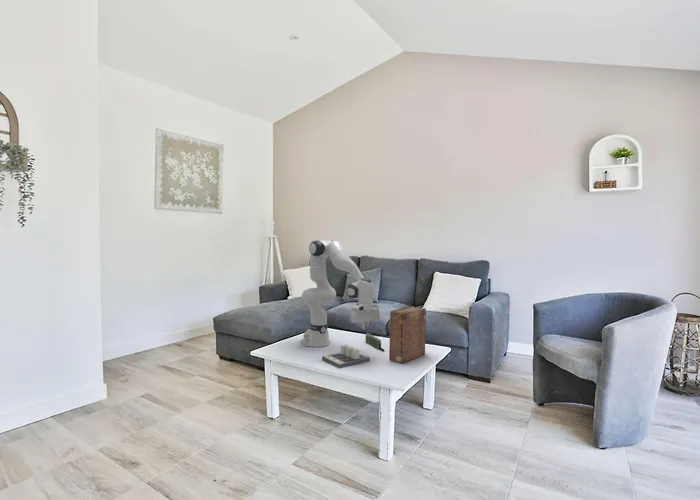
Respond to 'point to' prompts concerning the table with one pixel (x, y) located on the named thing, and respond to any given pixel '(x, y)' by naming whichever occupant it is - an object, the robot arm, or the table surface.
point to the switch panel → (344, 360)
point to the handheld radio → (373, 341)
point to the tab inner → (343, 349)
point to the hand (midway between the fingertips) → (365, 328)
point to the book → (407, 334)
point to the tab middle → (349, 351)
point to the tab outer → (355, 354)
